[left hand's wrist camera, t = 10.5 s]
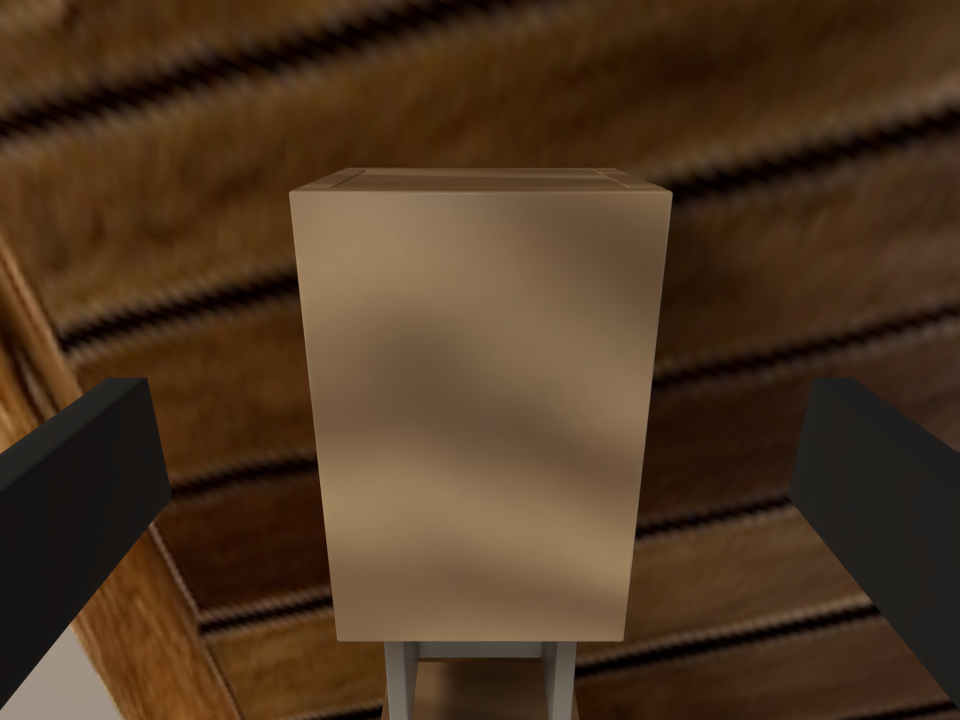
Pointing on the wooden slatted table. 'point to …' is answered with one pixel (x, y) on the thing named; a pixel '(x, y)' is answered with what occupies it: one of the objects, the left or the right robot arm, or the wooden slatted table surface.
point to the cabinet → (480, 394)
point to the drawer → (480, 681)
